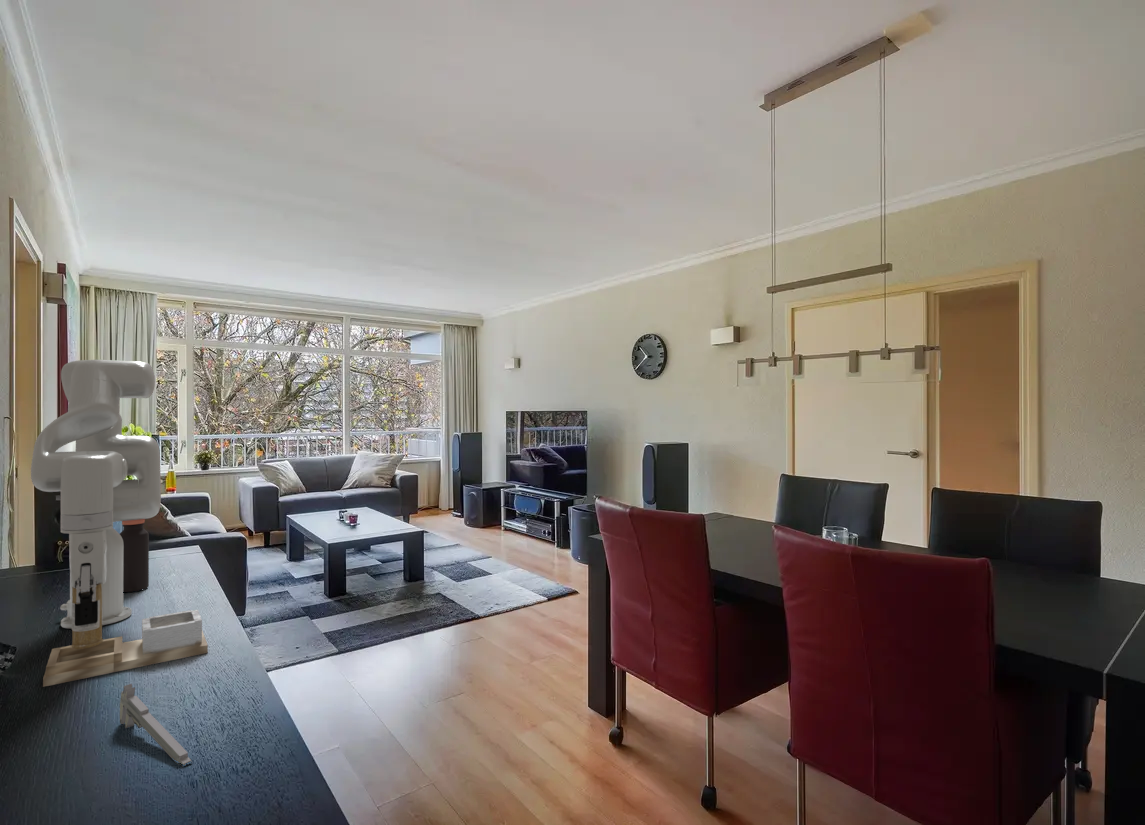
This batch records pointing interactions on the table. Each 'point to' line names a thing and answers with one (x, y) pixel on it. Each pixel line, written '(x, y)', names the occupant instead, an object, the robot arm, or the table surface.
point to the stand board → (108, 659)
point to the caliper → (149, 724)
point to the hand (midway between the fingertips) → (87, 618)
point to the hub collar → (171, 631)
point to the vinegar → (135, 555)
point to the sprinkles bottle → (91, 632)
